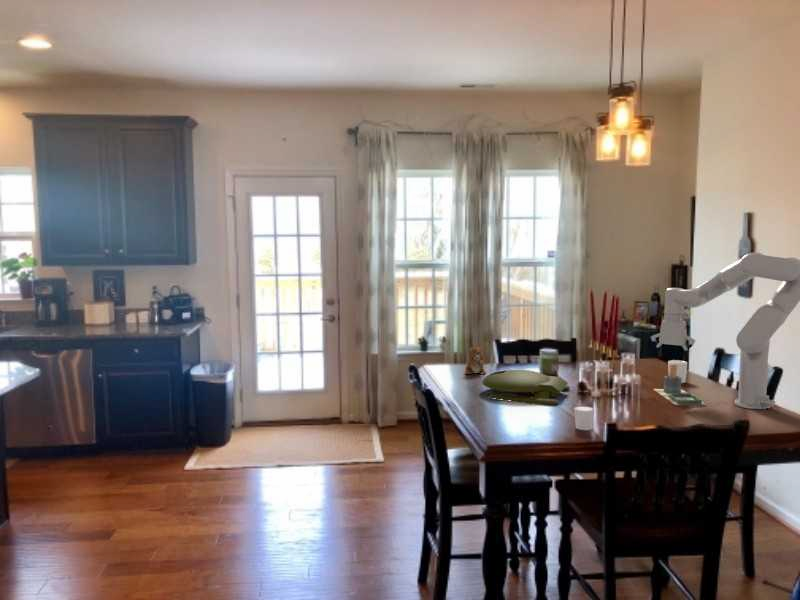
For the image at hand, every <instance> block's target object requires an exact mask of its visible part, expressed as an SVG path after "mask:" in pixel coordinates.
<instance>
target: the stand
mask: <svg viewBox="0 0 800 600" xmlns="http://www.w3.org/2000/svg"><path fill="white" fill-rule="evenodd" d="M653 391H655V392H656V393H658V394H659V395H661V396H662V397H663V398H665V399H666V400H668V402H669V401H670V403H672V404H673V405H675V406H697V408H707V407H708V404H706V403H704V402H703V401H702V399H701V398H699V397H698V396H696V395H694V394H692V393H689V392H687V391H685V390H684V389H683V388H682V383H681V377H679V376H676V378H669V375H665V376H663V388H653Z"/></svg>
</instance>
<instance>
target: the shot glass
mask: <svg viewBox="0 0 800 600" xmlns="http://www.w3.org/2000/svg"><path fill="white" fill-rule="evenodd" d="M573 410H574V411H573V412H574V421H575V423H574V424H575V428H576V429H577V430H581V431H591V430H593V424H594V417H595V416H594V414H595V408H593V407H592V406H585V405H579V406H575V407H574V409H573Z"/></svg>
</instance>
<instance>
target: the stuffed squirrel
mask: <svg viewBox="0 0 800 600" xmlns="http://www.w3.org/2000/svg"><path fill="white" fill-rule="evenodd" d="M469 350H470V353H471V354H470V358H469V360H468V363H467V365H466V367H465V375H466V374H471V375H474V374H473V373H483V374H486V375H487V372H486V371H485V369H484V367H483V366H484V361H483V360H484V357H485V356H484V355H483V353H482V351H483V350H484V348H483V347H481V348H480V347H469Z"/></svg>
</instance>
